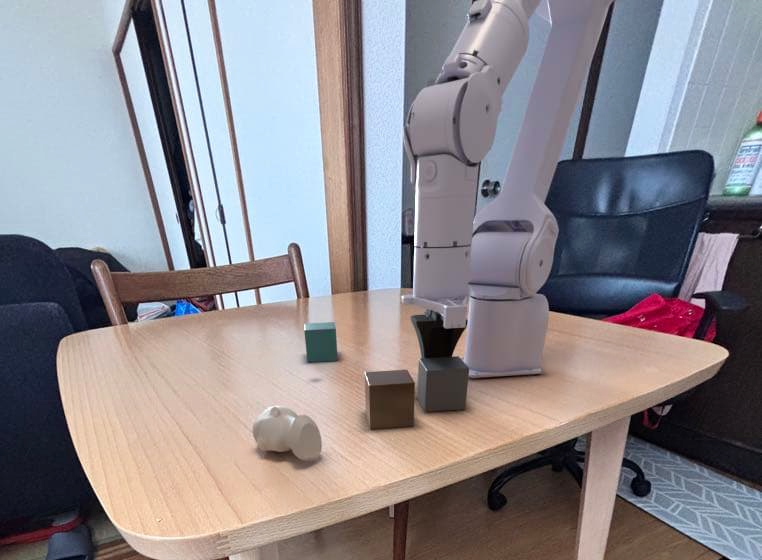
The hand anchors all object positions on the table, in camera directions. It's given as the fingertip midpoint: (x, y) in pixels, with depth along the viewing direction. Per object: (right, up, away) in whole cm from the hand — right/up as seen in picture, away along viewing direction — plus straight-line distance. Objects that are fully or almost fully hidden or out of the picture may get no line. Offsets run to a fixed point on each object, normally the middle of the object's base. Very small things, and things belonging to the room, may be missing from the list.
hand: (434, 381), depth 55 cm
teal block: (-14, +9, +16) cm, 23 cm away
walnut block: (-6, -6, -5) cm, 10 cm away
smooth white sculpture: (-16, -11, -11) cm, 22 cm away
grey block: (0, -3, -2) cm, 4 cm away
